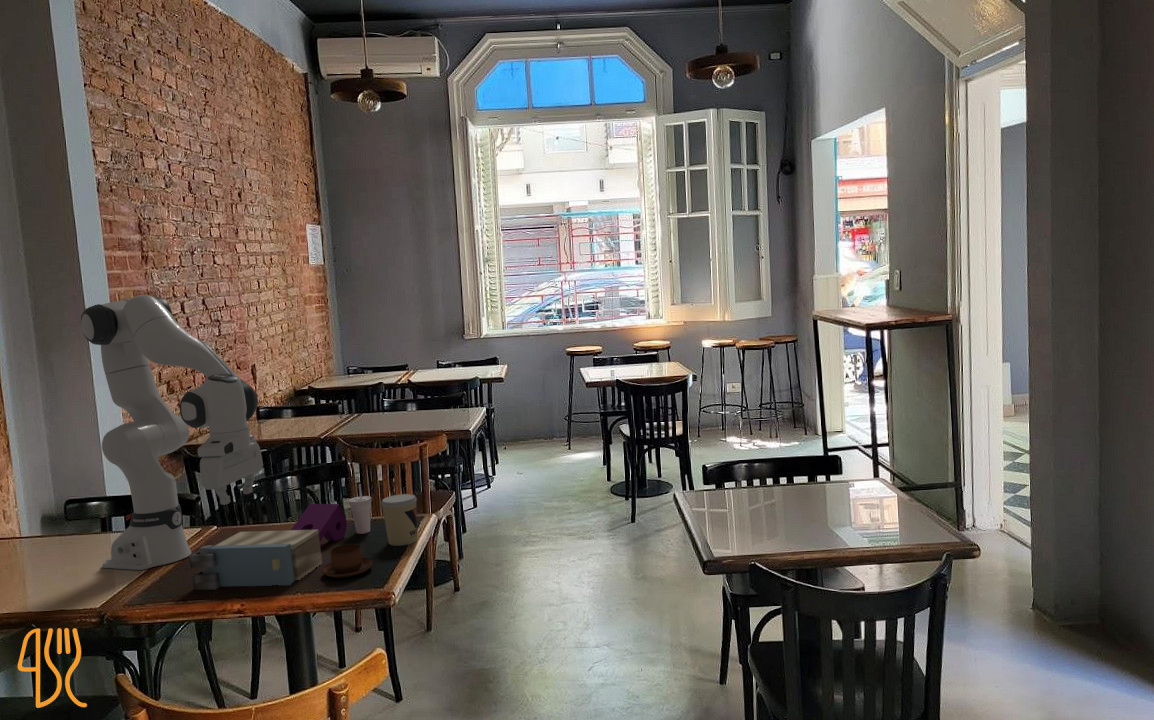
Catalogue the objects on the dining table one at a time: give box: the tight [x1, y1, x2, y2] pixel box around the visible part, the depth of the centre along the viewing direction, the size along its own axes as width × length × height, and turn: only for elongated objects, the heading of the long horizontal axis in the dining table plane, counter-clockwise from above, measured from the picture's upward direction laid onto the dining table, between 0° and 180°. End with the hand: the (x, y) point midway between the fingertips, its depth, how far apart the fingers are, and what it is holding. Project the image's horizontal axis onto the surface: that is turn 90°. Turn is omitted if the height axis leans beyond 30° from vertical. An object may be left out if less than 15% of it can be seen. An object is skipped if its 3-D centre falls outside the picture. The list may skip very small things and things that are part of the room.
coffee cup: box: [381, 493, 418, 547], centre depth 232 cm, size 9×9×12 cm
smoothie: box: [348, 483, 372, 535], centre depth 244 cm, size 6×6×14 cm
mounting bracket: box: [290, 503, 348, 542], centre depth 236 cm, size 10×9×19 cm
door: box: [198, 544, 296, 587], centre depth 206 cm, size 23×4×10 cm, turn 80°
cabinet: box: [188, 529, 323, 591], centre depth 212 cm, size 25×17×9 cm
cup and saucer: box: [321, 543, 373, 579], centre depth 210 cm, size 12×12×6 cm
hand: (237, 498), depth 205 cm, fingers open, 8 cm apart
